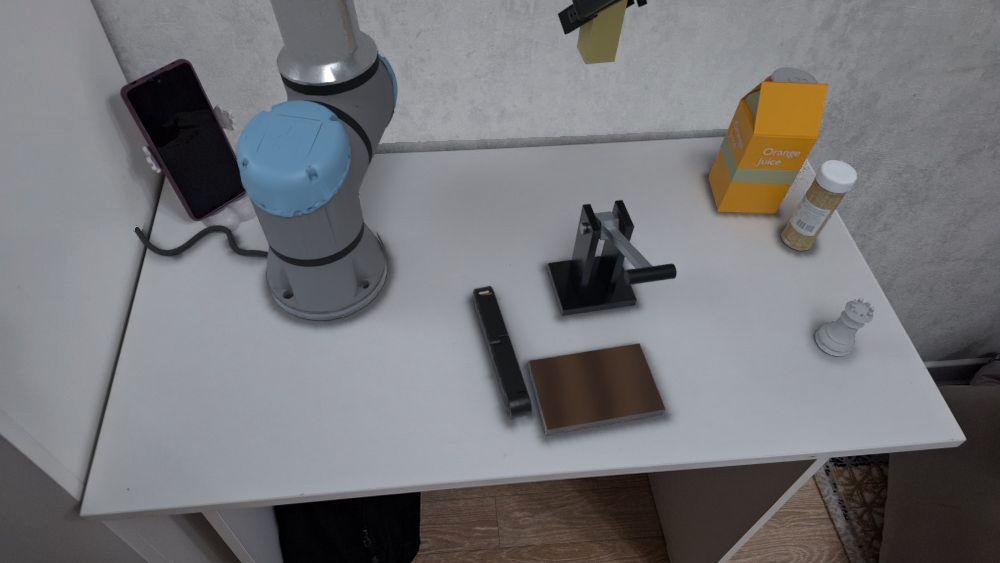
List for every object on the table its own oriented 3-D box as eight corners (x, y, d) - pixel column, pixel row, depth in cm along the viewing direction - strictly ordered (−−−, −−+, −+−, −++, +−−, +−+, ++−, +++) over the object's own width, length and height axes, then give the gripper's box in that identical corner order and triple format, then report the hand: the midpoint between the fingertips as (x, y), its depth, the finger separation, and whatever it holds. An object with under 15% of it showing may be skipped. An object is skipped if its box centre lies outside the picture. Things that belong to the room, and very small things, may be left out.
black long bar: (531, 417, 71) (533, 406, 69) (509, 423, 70) (511, 411, 68) (491, 295, 81) (491, 281, 79) (471, 299, 81) (471, 285, 78)
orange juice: (775, 214, 92) (839, 102, 76) (717, 212, 92) (768, 99, 76) (763, 178, 97) (820, 65, 81) (707, 176, 97) (753, 63, 81)
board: (545, 435, 70) (547, 430, 68) (527, 366, 75) (528, 360, 74) (662, 415, 72) (665, 409, 71) (636, 349, 77) (639, 343, 76)
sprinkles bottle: (818, 243, 89) (866, 174, 78) (797, 256, 87) (843, 187, 77) (793, 223, 91) (836, 153, 81) (773, 236, 90) (814, 166, 79)
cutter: (635, 305, 81) (660, 235, 70) (561, 316, 80) (576, 246, 69) (616, 258, 86) (637, 186, 75) (546, 268, 84) (558, 195, 73)
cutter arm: (675, 284, 62) (678, 263, 61) (628, 291, 61) (630, 270, 60) (620, 227, 75) (621, 209, 74) (581, 233, 75) (581, 214, 74)
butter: (585, 64, 80) (599, -21, 71) (576, 47, 82) (589, -38, 73) (614, 62, 80) (632, -23, 71) (605, 44, 83) (621, -39, 74)
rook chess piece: (812, 350, 78) (842, 315, 72) (814, 323, 80) (844, 286, 74) (848, 363, 77) (882, 328, 71) (850, 335, 80) (883, 299, 73)
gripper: (655, -2, 57) (534, 66, 78) (785, -46, 63) (642, 27, 84) (629, -86, 55) (513, 6, 76) (766, -123, 62) (625, -29, 83)
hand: (581, 17), depth 80 cm, fingers closed on butter, 5 cm apart
